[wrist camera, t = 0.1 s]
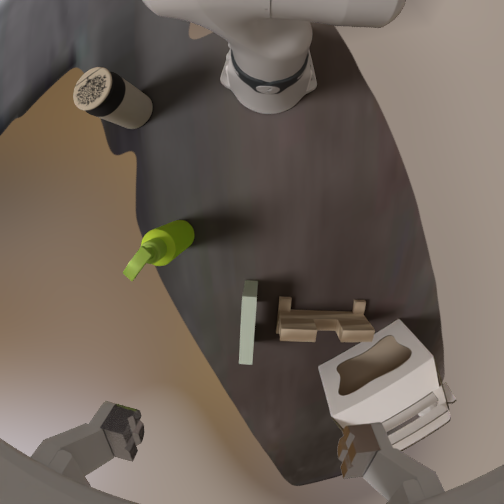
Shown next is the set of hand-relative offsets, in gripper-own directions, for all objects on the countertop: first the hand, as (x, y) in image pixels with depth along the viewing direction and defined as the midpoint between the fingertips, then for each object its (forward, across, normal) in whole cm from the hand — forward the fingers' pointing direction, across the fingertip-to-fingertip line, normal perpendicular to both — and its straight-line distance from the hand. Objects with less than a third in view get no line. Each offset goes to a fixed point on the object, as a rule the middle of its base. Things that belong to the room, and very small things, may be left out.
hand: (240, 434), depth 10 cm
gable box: (+48, -28, +28) cm, 62 cm away
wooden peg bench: (+48, -14, +16) cm, 52 cm away
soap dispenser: (+48, +16, +1) cm, 51 cm away
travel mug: (+48, +27, -25) cm, 60 cm away
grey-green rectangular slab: (+48, +1, +16) cm, 51 cm away
